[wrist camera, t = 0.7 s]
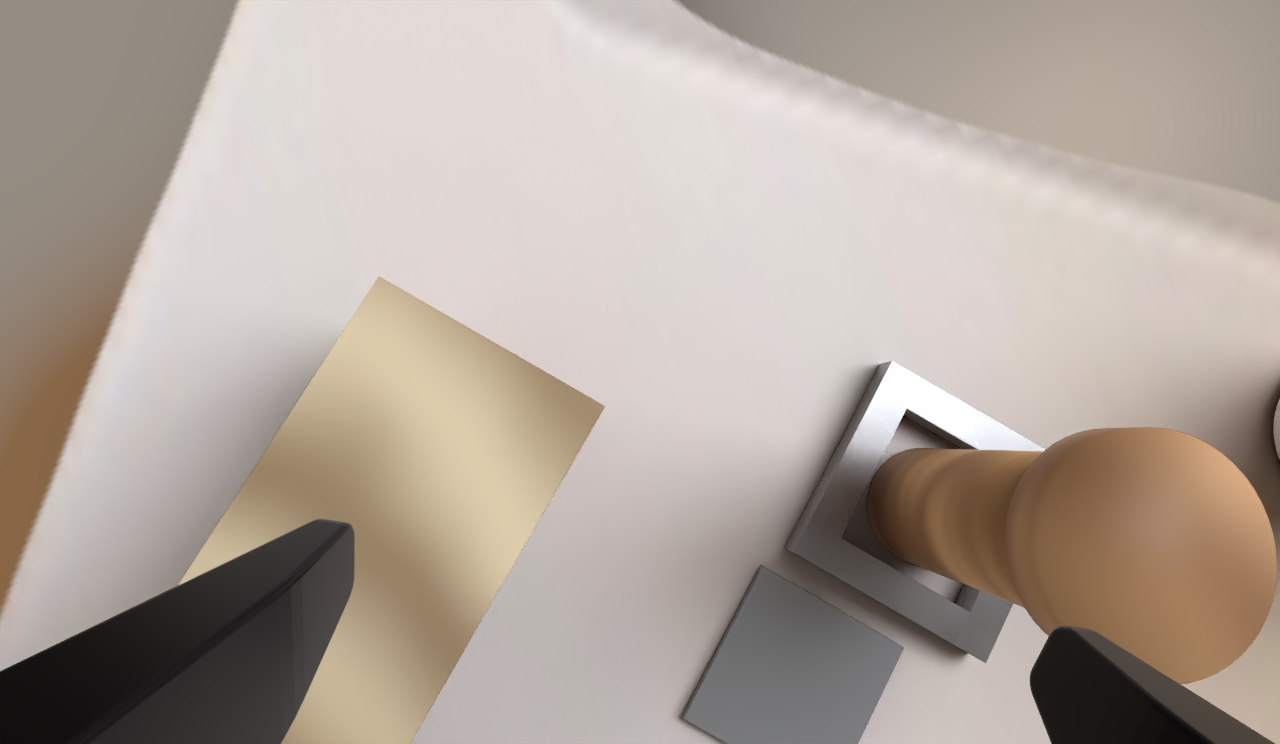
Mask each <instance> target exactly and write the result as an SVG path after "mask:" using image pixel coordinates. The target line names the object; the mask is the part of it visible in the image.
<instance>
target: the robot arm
mask: <svg viewBox="0 0 1280 744" xmlns="http://www.w3.org/2000/svg"><path fill="white" fill-rule="evenodd" d="M354 576H355V532H354V528H353V526H352V525H351V524H350V523H348V522H343V521H336V520H329V519H316V520H313V521H311V522H309V523H307V524H305V525H302V526H300V527H298V528H296V529H294V530H292V531H290V532H288V533H286V534H284V535H282V536H280V537H278V538H276V539H273V540H271V541H269V542H267V543H265V544H263V545H261V546H259V547H257V548H255V549H253V550H251V551H249V552H247V553H244V554H242V555H240V556H238V557H236V558H234V559H232V560H230V561H228V562H226V563H224V564H222V565H220V566H218V567H215V568H213V569H211V570H209V571H207V572H205V573H203V574H201V575H199V576H197V577H195V578H193V579H191V580H189V581H186V582H184V583H182V584H180V585H178V586H176V587H174V588H172V589H170V590H168V591H166V592H164V593H162V594H160V595H157V596H155V597H153V598H151V599H149V600H147V601H145V602H143V603H141V604H139V605H137V606H135V607H133V608H131V609H128V610H126V611H124V612H122V613H120V614H118V615H116V616H114V617H112V618H110V619H108V620H106V621H104V622H102V623H99V624H97V625H95V626H93V627H91V628H89V629H87V630H85V631H83V632H81V633H79V634H77V635H75V636H73V637H70V638H68V639H66V640H64V641H62V642H60V643H58V644H56V645H54V646H52V647H50V648H48V649H46V650H44V651H41V652H39V653H37V654H35V655H33V656H31V657H29V658H27V659H25V660H23V661H21V662H19V663H17V664H14V665H12V666H10V667H8V668H6V669H4V670H2V671H0V744H281V743H282V741H283V740H284V738H285V736H286V734H287V732H288V730H289V729H290V727H291V725H292V723H293V721H294V719H295V718H296V716H297V713H298V711H299V709H300V707H301V705H302V703H303V701H304V699H305V696H306V694H307V692H308V690H309V687H310V685H311V683H312V681H313V679H314V676H315V674H316V672H317V670H318V667H319V665H320V663H321V661H322V658H323V656H324V654H325V652H326V649H327V647H328V645H329V643H330V640H331V638H332V636H333V634H334V631H335V629H336V627H337V625H338V622H339V620H340V618H341V616H342V614H343V611H344V609H345V607H346V605H347V602H348V600H349V598H350V595H351V592H352V589H353V584H354ZM1030 687H1031V692H1032V695H1033V697H1034V700H1035V702H1036V705H1037V708H1038V710H1039V713H1040V715H1041V718H1042V720H1043V723H1044V726H1045V728H1046V731H1047V733H1048V736H1049V738H1050V741H1051V744H1275V743H1273V742H1271V741H1270V740H1268V739H1267V738H1265V737H1263V736H1262V735H1260V734H1259V733H1257V732H1255V731H1254V730H1252V729H1251V728H1249V727H1247V726H1246V725H1244V724H1243V723H1241V722H1240V721H1238V720H1236V719H1235V718H1233V717H1232V716H1230V715H1228V714H1227V713H1225V712H1224V711H1222V710H1220V709H1219V708H1217V707H1216V706H1214V705H1212V704H1211V703H1209V702H1208V701H1206V700H1204V699H1203V698H1201V697H1200V696H1198V695H1196V694H1195V693H1193V692H1192V691H1190V690H1188V689H1187V688H1185V687H1184V686H1182V685H1180V684H1179V683H1177V682H1176V681H1174V680H1172V679H1171V678H1169V677H1168V676H1166V675H1165V674H1163V673H1161V672H1160V671H1158V670H1157V669H1155V668H1153V667H1152V666H1150V665H1149V664H1147V663H1145V662H1144V661H1142V660H1141V659H1139V658H1137V657H1136V656H1134V655H1133V654H1131V653H1129V652H1128V651H1126V650H1125V649H1123V648H1121V647H1120V646H1118V645H1117V644H1115V643H1113V642H1112V641H1110V640H1109V639H1107V638H1105V637H1104V636H1102V635H1101V634H1099V633H1097V632H1095V631H1093V630H1090V629H1085V628H1078V627H1071V626H1059V627H1057V628H1055V629H1054V630H1053V631H1052V632H1051V634H1050V635H1049V637H1048V639H1047V641H1046V643H1045V645H1044V647H1043V649H1042V651H1041V653H1040V655H1039V657H1038V659H1037V660H1036V662H1035V664H1034V666H1033V668H1032V671H1031V674H1030Z"/></svg>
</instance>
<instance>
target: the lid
mask: <svg viewBox="0 0 1280 744" xmlns="http://www.w3.org/2000/svg"><path fill="white" fill-rule="evenodd" d="M604 407H605V406H604V405H602V404H600V403H599V402H597V401H595V400H593V399H592V398H590V397H588V396H586V395H585V394H583V393H581V392H579V391H578V390H576V389H574V388H572V387H571V386H569V385H567V384H565V383H564V382H562V381H560V380H559V379H557V378H555V377H553V376H552V375H550V374H548V373H546V372H545V371H543V370H541V369H539V368H538V367H536V366H534V365H532V364H531V363H529V362H527V361H525V360H524V359H522V358H520V357H519V356H517V355H515V354H513V353H512V352H510V351H508V350H506V349H505V348H503V347H501V346H499V345H498V344H496V343H494V342H492V341H491V340H489V339H487V338H485V337H484V336H482V335H480V334H478V333H477V332H475V331H473V330H472V329H470V328H468V327H466V326H465V325H463V324H461V323H459V322H458V321H456V320H454V319H452V318H451V317H449V316H447V315H445V314H444V313H442V312H440V311H438V310H437V309H435V308H433V307H432V306H430V305H428V304H426V303H425V302H423V301H421V300H419V299H418V298H416V297H414V296H412V295H411V294H409V293H407V292H405V291H404V290H402V289H400V288H398V287H397V286H395V285H393V284H392V283H390V282H388V281H386V280H385V279H383V278H381V277H378V278H377V280H376V281H375V283H374V285H373V286H372V288H371V289H370V291H369V292H368V294H367V295H366V297H365V298H364V300H363V301H362V303H361V305H360V306H359V308H358V309H357V311H356V312H355V314H354V315H353V317H352V318H351V320H350V321H349V323H348V325H347V326H346V328H345V329H344V331H343V332H342V334H341V335H340V337H339V338H338V340H337V341H336V343H335V345H334V346H333V348H332V349H331V351H330V352H329V354H328V355H327V357H326V358H325V360H324V361H323V363H322V365H321V366H320V368H319V369H318V371H317V372H316V374H315V375H314V377H313V378H312V380H311V381H310V383H309V384H308V386H307V388H306V389H305V391H304V392H303V394H302V395H301V397H300V398H299V400H298V401H297V403H296V404H295V406H294V408H293V409H292V411H291V412H290V414H289V415H288V417H287V418H286V420H285V421H284V423H283V424H282V426H281V428H280V429H279V431H278V432H277V434H276V435H275V437H274V438H273V440H272V441H271V443H270V444H269V446H268V448H267V449H266V451H265V452H264V454H263V455H262V457H261V458H260V460H259V461H258V463H257V464H256V466H255V468H254V469H253V471H252V472H251V474H250V475H249V477H248V478H247V480H246V481H245V483H244V484H243V486H242V488H241V489H240V491H239V492H238V494H237V495H236V497H235V498H234V500H233V501H232V503H231V504H230V506H229V507H228V509H227V511H226V512H225V514H224V515H223V517H222V518H221V520H220V521H219V523H218V524H217V526H216V527H215V529H214V531H213V532H212V534H211V535H210V537H209V538H208V540H207V541H206V543H205V544H204V546H203V547H202V549H201V551H200V552H199V554H198V555H197V557H196V558H195V560H194V561H193V563H192V564H191V566H190V567H189V569H188V571H187V572H186V574H185V575H184V577H183V578H182V580H181V581H180V583H179V584H178V585H180V584H182V583H184V582H186V581H189V580H191V579H193V578H195V577H197V576H199V575H201V574H203V573H205V572H207V571H209V570H211V569H213V568H215V567H218V566H220V565H222V564H224V563H226V562H228V561H230V560H232V559H234V558H236V557H238V556H240V555H242V554H244V553H247V552H249V551H251V550H253V549H255V548H257V547H259V546H261V545H263V544H265V543H267V542H269V541H271V540H273V539H276V538H278V537H280V536H282V535H284V534H286V533H288V532H290V531H292V530H294V529H296V528H298V527H300V526H302V525H305V524H307V523H309V522H311V521H313V520H316V519H329V520H336V521H343V522H348V523H350V524H351V525H352V526H353V528H354V532H355V576H354V584H353V589H352V592H351V595H350V598H349V600H348V602H347V605H346V607H345V609H344V611H343V614H342V616H341V618H340V620H339V622H338V625H337V627H336V629H335V631H334V634H333V636H332V638H331V640H330V643H329V645H328V647H327V649H326V652H325V654H324V656H323V658H322V661H321V663H320V665H319V667H318V670H317V672H316V674H315V676H314V679H313V681H312V683H311V685H310V687H309V690H308V692H307V694H306V696H305V699H304V701H303V703H302V705H301V707H300V709H299V711H298V713H297V716H296V718H295V719H294V721H293V723H292V725H291V727H290V729H289V730H288V732H287V734H286V736H285V738H284V740H283V741H282V743H281V744H410V743H411V741H412V740H413V738H414V736H415V735H416V733H417V731H418V729H419V728H420V726H421V724H422V722H423V721H424V719H425V717H426V716H427V714H428V712H429V710H430V709H431V707H432V705H433V703H434V702H435V700H436V698H437V696H438V695H439V693H440V691H441V690H442V688H443V686H444V684H445V683H446V681H447V679H448V677H449V676H450V674H451V672H452V670H453V669H454V667H455V665H456V664H457V662H458V660H459V658H460V657H461V655H462V653H463V651H464V650H465V648H466V646H467V645H468V643H469V641H470V639H471V638H472V636H473V634H474V632H475V631H476V629H477V627H478V625H479V624H480V622H481V620H482V619H483V617H484V615H485V613H486V612H487V610H488V608H489V606H490V605H491V603H492V601H493V600H494V598H495V596H496V594H497V593H498V591H499V589H500V587H501V586H502V584H503V582H504V580H505V579H506V577H507V575H508V574H509V572H510V570H511V568H512V567H513V565H514V563H515V561H516V560H517V558H518V556H519V555H520V553H521V551H522V549H523V548H524V546H525V544H526V542H527V541H528V539H529V537H530V535H531V534H532V532H533V530H534V529H535V527H536V525H537V523H538V522H539V520H540V518H541V516H542V515H543V513H544V511H545V510H546V508H547V506H548V504H549V503H550V501H551V499H552V497H553V496H554V494H555V492H556V490H557V489H558V487H559V485H560V484H561V482H562V480H563V478H564V477H565V475H566V473H567V471H568V470H569V468H570V466H571V465H572V463H573V461H574V459H575V458H576V456H577V454H578V452H579V451H580V449H581V447H582V445H583V444H584V442H585V440H586V439H587V437H588V435H589V433H590V432H591V430H592V428H593V426H594V425H595V423H596V421H597V420H598V418H599V416H600V414H601V413H602V411H603V409H604Z"/></svg>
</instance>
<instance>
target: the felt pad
mask: <svg viewBox="0 0 1280 744" xmlns="http://www.w3.org/2000/svg"><path fill="white" fill-rule="evenodd" d="M903 649H904V647H902V646H901V645H899V644H897V643H895V642H894V641H892V640H890V639H888V638H887V637H885V636H883V635H882V634H880V633H878V632H876V631H875V630H873V629H871V628H869V627H868V626H866V625H864V624H862V623H861V622H859V621H857V620H855V619H854V618H852V617H850V616H848V615H847V614H845V613H843V612H841V611H840V610H838V609H836V608H834V607H833V606H831V605H829V604H827V603H826V602H824V601H822V600H821V599H819V598H817V597H815V596H814V595H812V594H810V593H808V592H807V591H805V590H803V589H801V588H800V587H798V586H796V585H794V584H793V583H791V582H789V581H787V580H786V579H784V578H782V577H780V576H779V575H777V574H775V573H773V572H772V571H770V570H768V569H766V568H765V567H763V566H760V568H759V570H758V572H757V573H756V575H755V577H754V579H753V581H752V583H751V585H750V587H749V589H748V591H747V593H746V595H745V596H744V598H743V600H742V602H741V604H740V606H739V608H738V610H737V612H736V614H735V616H734V618H733V619H732V621H731V623H730V625H729V627H728V629H727V631H726V633H725V635H724V637H723V639H722V641H721V642H720V644H719V646H718V648H717V650H716V652H715V654H714V656H713V658H712V660H711V662H710V663H709V665H708V667H707V669H706V671H705V673H704V675H703V677H702V679H701V681H700V683H699V685H698V686H697V688H696V690H695V692H694V694H693V696H692V698H691V700H690V702H689V704H688V706H687V708H686V709H685V711H684V713H683V718H684V719H685V720H686V721H688V722H690V723H692V724H693V725H695V726H697V727H699V728H700V729H702V730H704V731H706V732H707V733H709V734H711V735H713V736H714V737H716V738H718V739H720V740H721V741H723V742H725V743H727V744H858V742H859V740H860V738H861V736H862V734H863V732H864V730H865V728H866V726H867V724H868V722H869V720H870V717H871V715H872V713H873V711H874V709H875V707H876V705H877V703H878V701H879V699H880V697H881V695H882V692H883V690H884V688H885V686H886V684H887V682H888V680H889V678H890V676H891V674H892V672H893V670H894V668H895V665H896V663H897V661H898V659H899V657H900V655H901V653H902V651H903Z"/></svg>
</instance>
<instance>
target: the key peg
mask: <svg viewBox="0 0 1280 744" xmlns="http://www.w3.org/2000/svg"><path fill="white" fill-rule="evenodd" d="M868 514H869V518H870V522H871V525H872V528H873V530H874V532H875V534H876V536H877V537H878V539H879V540H880V542H881V543H882V544H883V545H884V547H885V548H886V549H887V550H889V551H890V552H891V553H892V554H894V555H895V556H897V557H898V558H900V559H902V560H904V561H906V562H909V563H912V564H914V565H917V566H919V567H922V568H924V569H927V570H930V571H932V572H935V573H937V574H940V575H942V576H945V577H948V578H950V579H953V580H955V581H958V582H960V583H963V584H965V585H968V586H971V587H973V588H976V589H978V590H981V591H983V592H986V593H989V594H991V595H994V596H996V597H999V598H1001V599H1004V600H1007V601H1009V602H1012V603H1014V604H1017V605H1019V606H1022V607H1024V608H1025V609H1026V610H1027V612H1028V613H1029V615H1030V616H1031V617H1032V619H1033V620H1034V621H1035V623H1036V624H1037V625H1038V626H1039V627H1040V628H1041V629H1042V630H1043V631H1044V632H1045V633H1046V634H1047V635H1048V636H1049V635H1050V634H1051V632H1052V631H1053V630H1054V629H1055V628H1057V627H1059V626H1071V627H1078V628H1085V629H1090V630H1093V631H1095V632H1097V633H1099V634H1101V635H1102V636H1104V637H1105V638H1107V639H1109V640H1110V641H1112V642H1113V643H1115V644H1117V645H1118V646H1120V647H1121V648H1123V649H1125V650H1126V651H1128V652H1129V653H1131V654H1133V655H1134V656H1136V657H1137V658H1139V659H1141V660H1142V661H1144V662H1145V663H1147V664H1149V665H1150V666H1152V667H1153V668H1155V669H1157V670H1158V671H1160V672H1161V673H1163V674H1165V675H1166V676H1168V677H1169V678H1171V679H1172V680H1174V681H1176V682H1177V683H1179V684H1186V683H1191V682H1195V681H1198V680H1202V679H1205V678H1207V677H1209V676H1212V675H1214V674H1216V673H1218V672H1220V671H1221V670H1223V669H1224V668H1226V667H1228V666H1229V665H1231V664H1232V663H1233V662H1234V661H1235V660H1236V659H1238V658H1239V657H1240V656H1241V655H1242V654H1243V653H1244V652H1245V651H1246V650H1247V648H1248V647H1249V646H1250V645H1251V644H1252V643H1253V641H1254V640H1255V638H1256V637H1257V635H1258V634H1259V632H1260V631H1261V629H1262V627H1263V624H1264V622H1265V620H1266V618H1267V616H1268V613H1269V610H1270V607H1271V604H1272V601H1273V597H1274V591H1275V586H1276V575H1277V558H1276V547H1275V541H1274V536H1273V532H1272V528H1271V525H1270V521H1269V518H1268V516H1267V513H1266V511H1265V509H1264V506H1263V504H1262V502H1261V500H1260V498H1259V497H1258V495H1257V493H1256V491H1255V489H1254V488H1253V487H1252V485H1251V484H1250V482H1249V481H1248V480H1247V478H1246V477H1245V475H1244V474H1243V473H1242V472H1241V471H1240V470H1239V469H1238V468H1237V467H1236V466H1235V465H1234V463H1232V462H1231V461H1230V460H1229V459H1228V458H1227V457H1225V456H1224V455H1223V454H1222V453H1221V452H1219V451H1218V450H1216V449H1215V448H1213V447H1212V446H1210V445H1209V444H1207V443H1205V442H1203V441H1201V440H1199V439H1197V438H1195V437H1193V436H1190V435H1187V434H1184V433H1181V432H1178V431H1174V430H1169V429H1164V428H1105V429H1092V430H1088V431H1083V432H1079V433H1076V434H1073V435H1071V436H1068V437H1065V438H1064V439H1062V440H1060V441H1058V442H1056V443H1054V444H1053V445H1052V446H1050V447H1049V448H1048V449H1046V450H1045V451H1012V450H973V449H935V448H916V449H910V450H906V451H903V452H900V453H898V454H896V455H894V456H893V457H891V458H890V459H889V460H887V461H886V462H885V463H884V464H883V465H882V466H881V468H880V469H879V470H878V472H877V473H876V475H875V477H874V479H873V481H872V483H871V486H870V490H869V495H868Z"/></svg>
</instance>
